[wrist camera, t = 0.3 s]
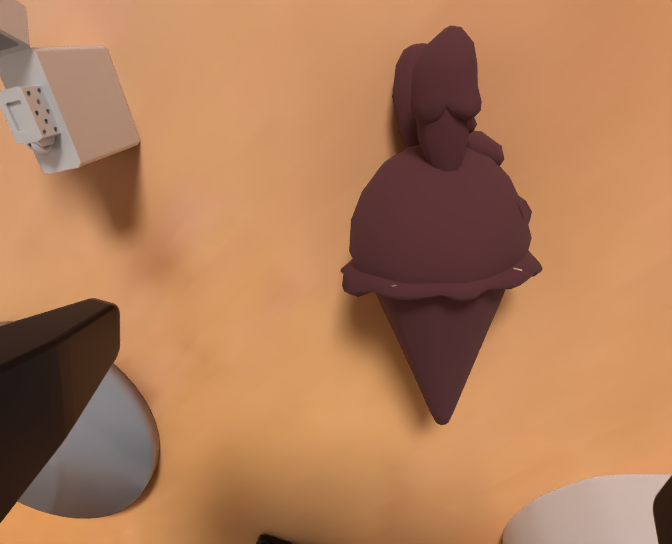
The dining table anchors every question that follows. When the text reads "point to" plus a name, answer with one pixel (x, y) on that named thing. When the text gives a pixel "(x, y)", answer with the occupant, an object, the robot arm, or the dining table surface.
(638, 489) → the lumpy-topped squat cylinder
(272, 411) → the dining table surface
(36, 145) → the lighter
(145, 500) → the dining table surface
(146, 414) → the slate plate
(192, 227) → the dining table surface
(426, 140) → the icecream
